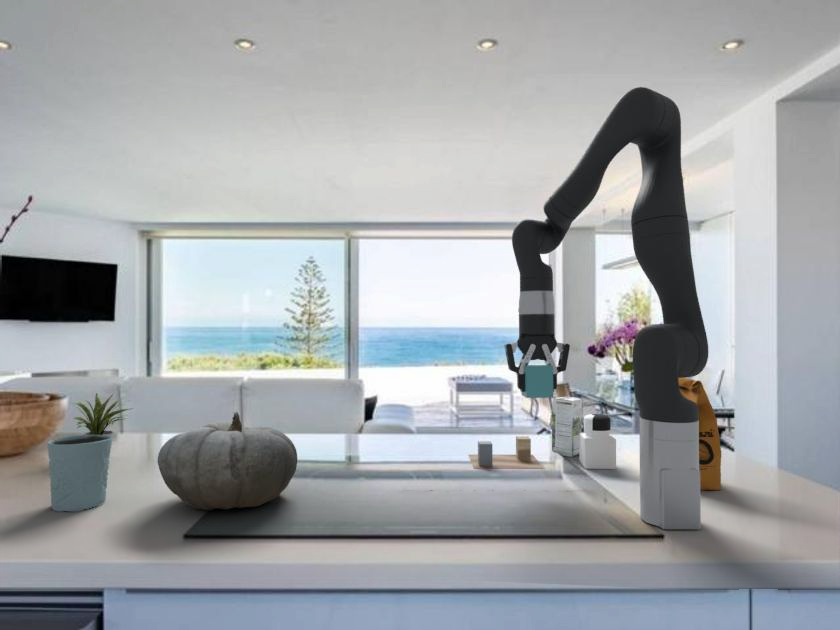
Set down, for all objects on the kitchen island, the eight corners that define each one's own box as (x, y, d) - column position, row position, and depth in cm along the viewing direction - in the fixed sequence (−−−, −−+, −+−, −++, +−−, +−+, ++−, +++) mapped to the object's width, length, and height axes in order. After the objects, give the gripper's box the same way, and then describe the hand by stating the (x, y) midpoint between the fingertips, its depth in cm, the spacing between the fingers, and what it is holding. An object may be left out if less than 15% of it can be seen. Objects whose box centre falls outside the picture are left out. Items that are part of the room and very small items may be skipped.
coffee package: (677, 491, 112) (676, 381, 113) (657, 474, 125) (656, 375, 125) (729, 492, 111) (728, 381, 112) (703, 476, 124) (702, 376, 124)
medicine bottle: (609, 462, 136) (608, 412, 136) (616, 469, 129) (616, 417, 129) (579, 461, 137) (578, 412, 137) (584, 469, 130) (584, 417, 130)
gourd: (145, 517, 88) (161, 406, 92) (155, 500, 111) (167, 411, 114) (305, 515, 97) (312, 414, 101) (283, 499, 120) (290, 417, 123)
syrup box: (561, 450, 149) (560, 396, 149) (582, 454, 145) (582, 397, 146) (551, 454, 145) (551, 398, 145) (573, 457, 141) (572, 400, 141)
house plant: (100, 467, 130) (101, 397, 131) (47, 465, 132) (48, 396, 133) (140, 454, 144) (141, 390, 145) (92, 452, 146) (93, 389, 147)
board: (545, 473, 126) (545, 446, 126) (473, 473, 126) (473, 446, 126) (532, 458, 140) (532, 434, 140) (468, 458, 140) (468, 434, 140)
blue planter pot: (37, 515, 97) (38, 445, 97) (58, 498, 107) (59, 435, 107) (102, 510, 100) (103, 442, 100) (117, 494, 110) (117, 432, 110)
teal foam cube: (553, 397, 117) (553, 366, 118) (526, 397, 117) (526, 366, 118) (547, 394, 123) (546, 364, 123) (521, 394, 123) (521, 364, 123)
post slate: (492, 465, 128) (492, 444, 128) (479, 465, 128) (479, 444, 128) (490, 462, 131) (490, 441, 131) (477, 462, 131) (477, 441, 131)
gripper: (506, 312, 117) (506, 393, 116) (574, 312, 117) (575, 393, 116) (500, 313, 124) (501, 390, 124) (565, 313, 125) (566, 389, 124)
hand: (537, 391), depth 120 cm, fingers closed on teal foam cube, 5 cm apart
